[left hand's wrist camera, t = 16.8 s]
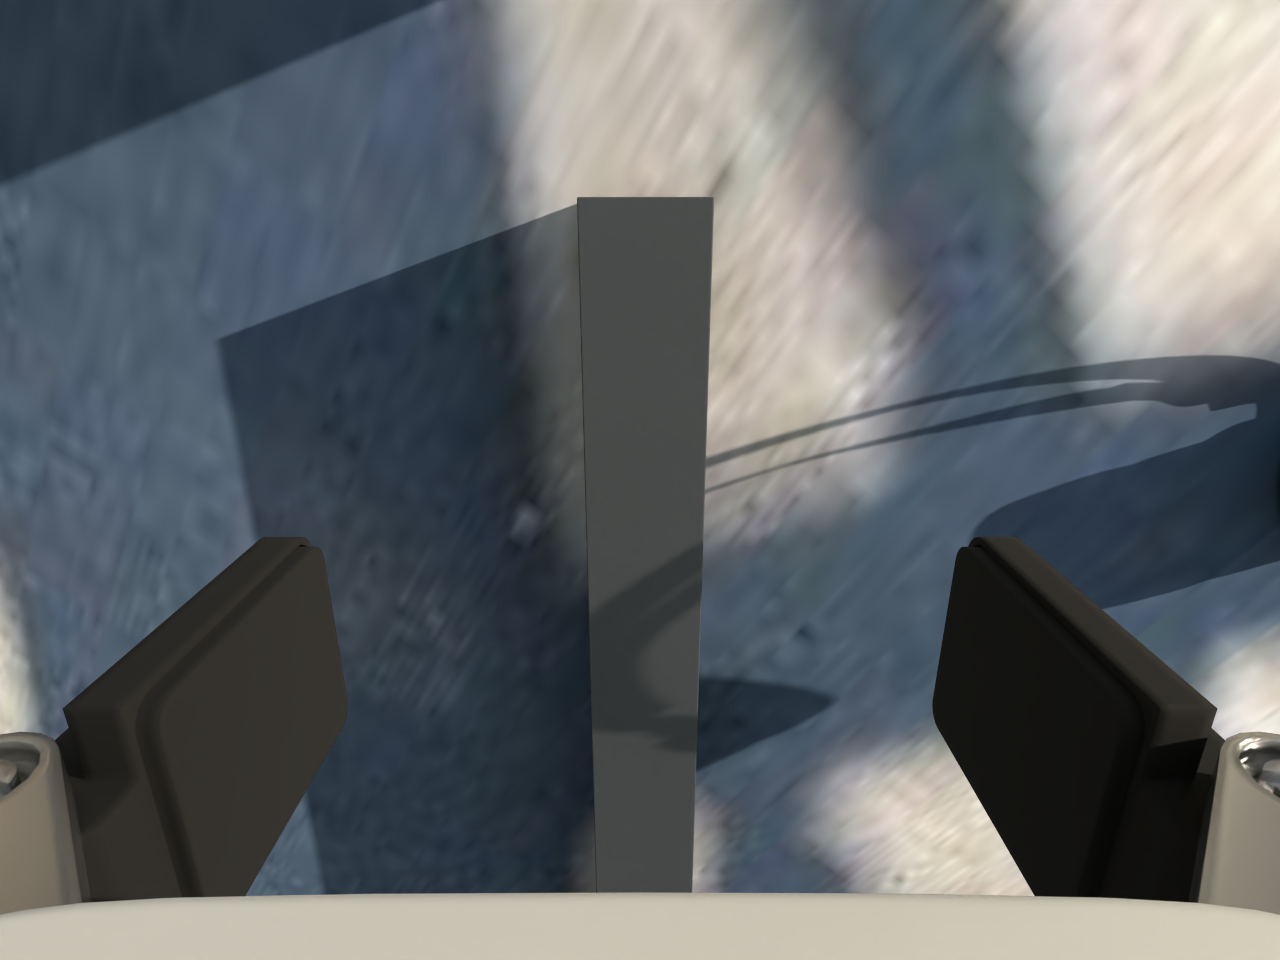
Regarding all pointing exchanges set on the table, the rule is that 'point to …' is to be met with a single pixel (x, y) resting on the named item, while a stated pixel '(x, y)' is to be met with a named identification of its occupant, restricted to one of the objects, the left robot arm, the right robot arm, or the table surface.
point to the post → (644, 524)
